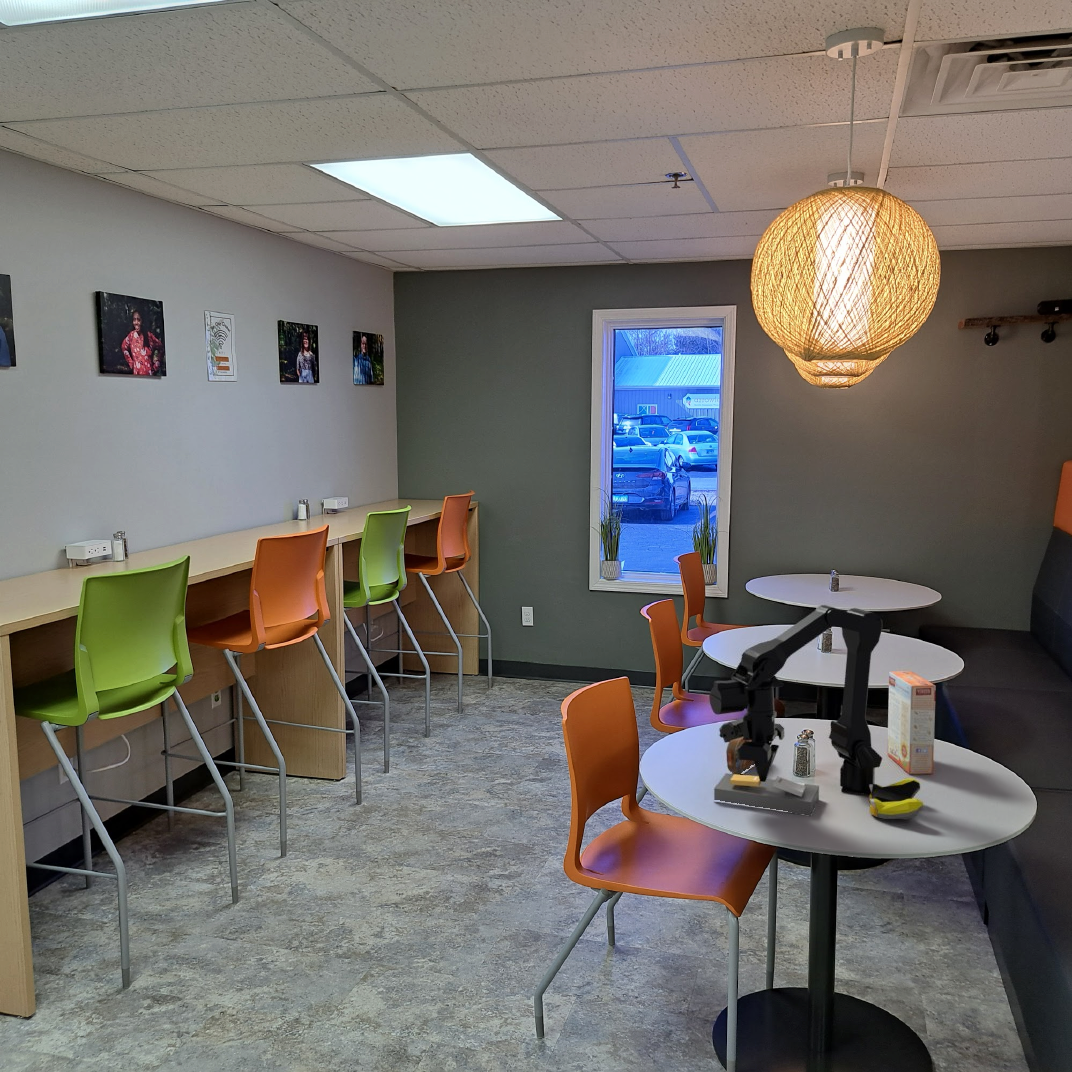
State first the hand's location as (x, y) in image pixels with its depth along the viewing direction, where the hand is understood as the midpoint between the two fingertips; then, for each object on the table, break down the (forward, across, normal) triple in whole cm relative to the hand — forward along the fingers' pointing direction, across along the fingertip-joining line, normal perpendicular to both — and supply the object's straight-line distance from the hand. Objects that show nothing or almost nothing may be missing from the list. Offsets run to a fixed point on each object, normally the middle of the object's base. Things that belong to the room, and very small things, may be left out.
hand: (763, 781), depth 197 cm
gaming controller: (+6, -5, +26) cm, 27 cm away
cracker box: (+6, -36, +26) cm, 45 cm away
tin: (+5, -20, -9) cm, 22 cm away
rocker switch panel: (+5, -2, 0) cm, 5 cm away
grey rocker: (0, 0, +5) cm, 5 cm away
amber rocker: (0, 0, -4) cm, 4 cm away
